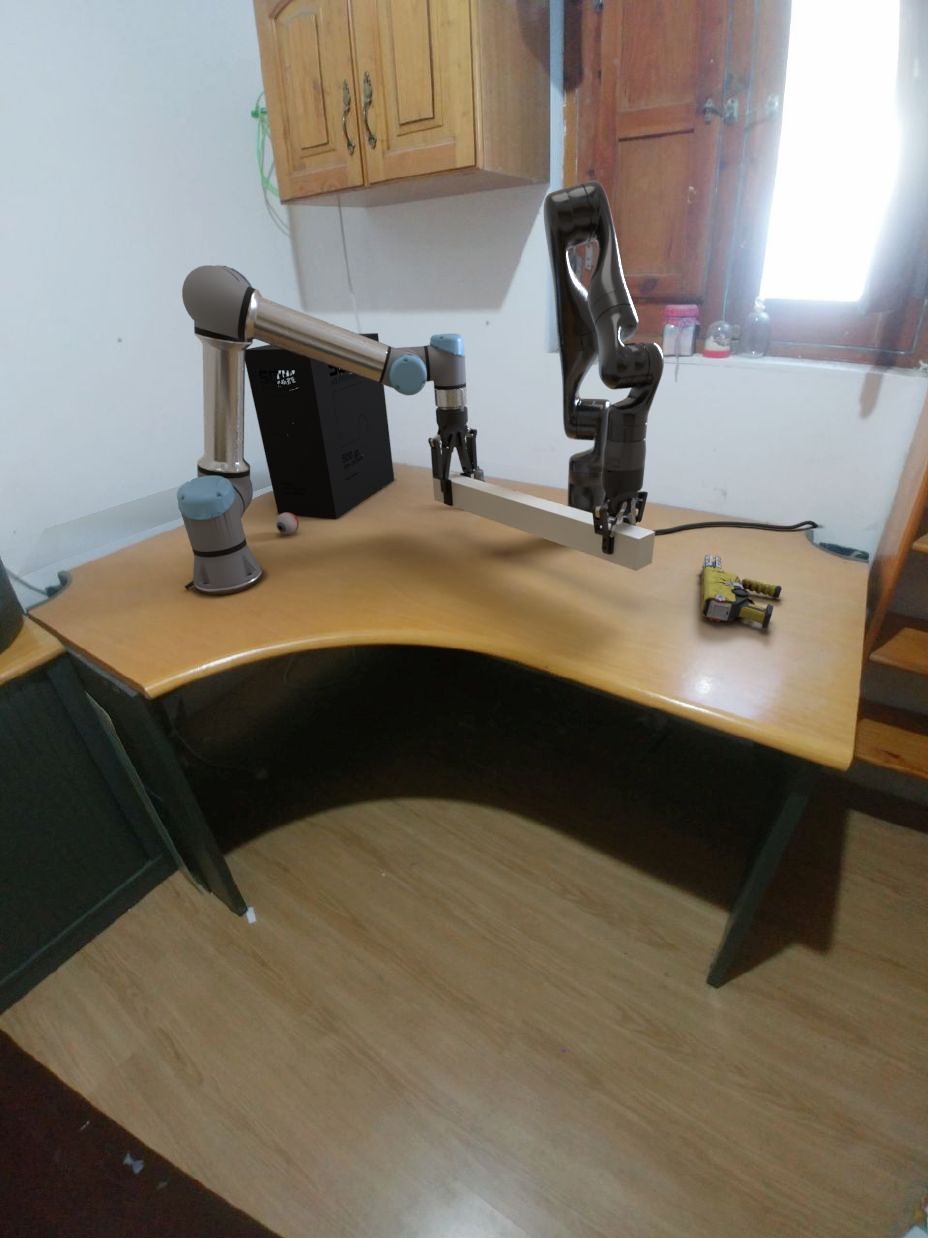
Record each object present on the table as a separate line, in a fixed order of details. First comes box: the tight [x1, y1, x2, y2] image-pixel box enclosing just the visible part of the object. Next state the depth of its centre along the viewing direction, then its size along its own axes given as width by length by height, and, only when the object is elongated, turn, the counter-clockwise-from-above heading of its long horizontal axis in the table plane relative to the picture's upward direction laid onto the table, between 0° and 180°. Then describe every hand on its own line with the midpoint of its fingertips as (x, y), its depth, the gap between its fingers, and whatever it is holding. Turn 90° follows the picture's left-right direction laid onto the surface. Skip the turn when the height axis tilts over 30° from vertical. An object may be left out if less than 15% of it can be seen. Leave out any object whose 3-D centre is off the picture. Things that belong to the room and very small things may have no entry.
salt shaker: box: [473, 465, 486, 482], centre depth 173 cm, size 6×6×12 cm
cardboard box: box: [245, 332, 395, 520], centre depth 181 cm, size 38×20×45 cm, turn 159°
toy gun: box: [700, 553, 783, 630], centre depth 120 cm, size 5×24×15 cm
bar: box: [432, 471, 656, 572], centre depth 134 cm, size 63×5×6 cm, turn 40°
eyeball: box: [275, 512, 300, 536], centre depth 163 cm, size 6×6×6 cm
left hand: (457, 501), depth 153 cm, fingers closed on bar, 5 cm apart
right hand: (616, 548), depth 118 cm, fingers closed on bar, 5 cm apart
